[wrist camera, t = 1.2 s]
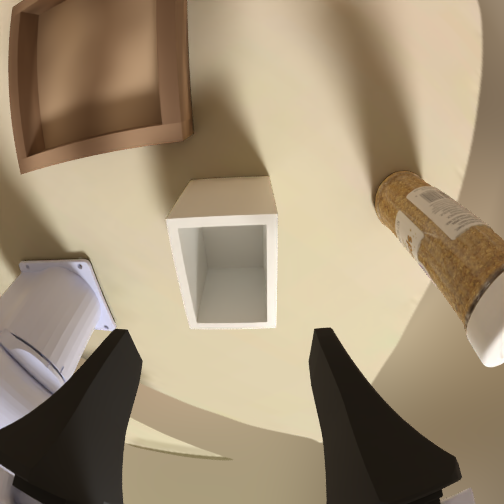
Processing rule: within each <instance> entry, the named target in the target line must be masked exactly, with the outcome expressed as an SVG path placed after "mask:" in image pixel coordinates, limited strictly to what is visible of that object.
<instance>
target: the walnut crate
mask: <svg viewBox="0 0 504 504" xmlns="http://www.w3.org/2000/svg"><path fill="white" fill-rule="evenodd" d="M8 73H9V97H10V109H11V119H12V127H13V134H14V141H15V147H16V153H17V158H18V163H19V168H20V172H21V174H24V173H27V172H30V171H34V170H37V169H41V168H44V167H48V166H51V165H55V164H59V163H63V162H67V161H71V160H75V159H79V158H84V157H88V156H93V155H98V154H103V153H108V152H113V151H118V150H124V149H130V148H136V147H142V146H149V145H156V144H164V143H172V142H180V141H184V140H185V139H187V138H188V137H190V136H191V135H193V134H194V129H193V117H192V103H191V88H190V71H189V51H188V21H187V0H23V1H21V2H20V3H18V4H17V5H15V6H14V7H13V9H12V16H11V25H10V37H9V60H8Z"/></svg>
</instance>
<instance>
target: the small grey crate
mask: <svg viewBox="0 0 504 504" xmlns="http://www.w3.org/2000/svg"><path fill="white" fill-rule="evenodd" d="M166 224H167V229H168V235H169V240H170V245H171V250H172V255H173V260H174V264H175V269H176V273H177V278H178V282H179V287H180V291H181V295H182V299H183V303H184V308H185V312H186V315H187V319H188V323H189V327H190V329H257V328H276V311H277V259H278V212H277V208H276V203H275V199H274V194H273V190H272V185H271V181H270V176H251V177H228V178H211V179H197V180H190V182H189V183H188V185H187V186H186V188H185V189H184V191H183V192H182V194H181V195H180V197H179V199H178V200H177V202H176V203H175V205H174V206H173V208H172V210H171V211H170V213H169V214H168V216H167V218H166Z"/></svg>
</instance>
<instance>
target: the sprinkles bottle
mask: <svg viewBox="0 0 504 504" xmlns="http://www.w3.org/2000/svg"><path fill="white" fill-rule="evenodd" d="M375 208H376V213H377V216H378V218H379V219H380V221H381V222H382V224H384V225H385V226H386V227H388V228H389V229H390V230H391V231H392V232H393V233H394V234H395V236H396V237H397V238H398V239H399V241H400V243H401V244H402V245H403V246H404V247H405V248H406V250H407V251H408V252H409V253H410V254H411V255H412V257H413V258H414V259H415V260H416V261H417V263H418V264H419V265H420V266H421V268H422V269H423V270H424V271H425V273H426V274H427V275H428V277H429V278H430V279H431V281H432V282H433V283H434V285H435V286H436V287H437V288H438V289H439V290H440V291H441V292H442V293H443V295H444V297H445V298H446V299H447V301H448V302H449V304H450V305H451V306H452V308H453V309H454V311H455V312H456V313H457V315H458V317H459V318H460V319H461V320H462V322H463V323H464V328H465V329H466V333H467V338H468V340H469V342H470V344H471V345H472V347H473V349H474V350H475V352H476V353H477V355H478V357H479V358H480V360H481V361H482V363H483V364H484V365H485V366H487V367H494V366H497V365H500V364H502V363H504V240H502V238H501V237H499V236H498V235H497V234H496V233H494V231H493V230H492V229H491V227H490V226H488V225H487V224H486V223H484V222H483V221H482V220H481V219H479V218H478V217H477V216H475V215H474V214H473V213H472V212H470V211H469V210H468V209H466V208H465V207H463V206H462V205H461V204H459V203H458V202H456V201H455V200H454V199H452V198H451V197H449V196H448V195H446V194H445V193H443V192H442V191H440V190H439V189H437V188H435V187H432V186H431V185H429V184H428V183H426V182H425V181H424V180H423V179H422V178H421V177H420V176H418V175H417V174H415V173H413V172H409V171H399V172H395V173H393V174H391V175H390V176H388V177H387V178H386V179H385V180H384V181H383V182H382V183H381V185H380V186H379V188H378V191H377V193H376V201H375Z"/></svg>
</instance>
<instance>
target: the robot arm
mask: <svg viewBox="0 0 504 504" xmlns="http://www.w3.org/2000/svg"><path fill="white" fill-rule="evenodd" d="M80 264H81V265H82V266H81V265H80ZM19 268H20V270H21V274H20V275H19V276H18V277H17V278H16V279H15V280H14V281H13V283H12V284H11V285H10V286H9V287H8V289H7V290H6V291H5V292H4V293H3V295H2V296H1V297H0V504H123V493H122V465H123V464H122V463H123V451H124V442H125V435H126V430H127V425H128V422H129V418H130V414H131V411H132V407H133V403H134V400H135V396H136V393H137V389H138V385H139V381H140V375H141V369H142V362H143V361H142V359H141V357H140V355H139V353H138V351H137V349H136V347H135V345H134V343H133V340H132V338H131V336H130V334H129V332H128V330H125V329H116V324H115V322H114V320H113V318H112V315H111V313H110V311H109V309H108V306H107V304H106V302H105V299H104V297H103V294H102V292H101V289H100V287H99V284H98V282H97V279H96V277H95V274H94V271H93V269H92V266H91V263H90V262H89V261H88V260H86V259H72V260H39V261H21V262H20V263H19ZM94 329H97V330H108V331H112V332H111V333H110V334H109V336H108V337H107V338H106V339H105V340H104V341H103V342H102V343H101V345H100V346H99V347H98V348H97V349H96V350H95V351H94V353H93V354H92V355H91V356H90V357H89V358H88V359H87V360H86V362H85V363H84V364H83V365H82V366H81V367H80V368H79V369H78V370H77V371H76V372H75V373H74V371H75V369H76V366H77V364H78V362H79V360H80V358H81V355H82V353H83V351H84V349H85V347H86V345H87V343H88V341H89V339H90V337H91V335H92V333H93V331H94ZM309 369H310V378H311V386H312V391H313V395H314V400H315V404H316V409H317V413H318V418H319V422H320V427H321V431H322V437H323V445H324V455H325V469H326V491H327V492H326V493H327V504H475V500H474V496H473V492H472V489H471V488H468V489H466V490H464V491H462V492H460V493H458V494H456V495H454V496H452V497H449V498H446V499H443V500H441V501H440V499H439V498H440V497H442V496H443V493H442V489H443V488H445V487H447V486H449V485H451V484H453V483H455V482H457V481H458V480H460V479H461V478H462V476H461V472H460V468H459V464H458V462H457V460H456V457H454V456H453V455H451V454H449V453H448V452H446V451H444V450H443V449H441V448H440V447H438V446H437V445H435V444H434V443H432V442H431V441H429V440H428V439H427V438H425V437H424V436H423V435H421V434H420V433H419V432H418V431H416V430H415V429H414V428H413V427H412V426H410V425H409V424H408V423H407V422H406V421H404V420H403V419H402V418H401V417H400V416H399V415H398V414H397V413H396V412H395V411H394V410H393V409H392V408H391V407H390V406H389V405H388V404H387V403H386V402H385V401H384V400H383V399H382V397H381V396H380V395H379V394H378V393H377V392H376V391H375V389H374V388H373V387H372V386H371V384H370V383H369V382H368V381H367V379H366V378H365V377H364V376H363V374H362V373H361V372H360V370H359V369H358V367H357V366H356V365H355V363H354V362H353V361H352V359H351V358H350V356H349V355H348V353H347V352H346V350H345V349H344V347H343V346H342V344H341V343H340V341H339V339H338V338H337V336H336V334H335V333H334V331H333V329H332V328H318V329H314V334H313V340H312V346H311V352H310V357H309ZM73 373H74V374H73Z"/></svg>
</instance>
